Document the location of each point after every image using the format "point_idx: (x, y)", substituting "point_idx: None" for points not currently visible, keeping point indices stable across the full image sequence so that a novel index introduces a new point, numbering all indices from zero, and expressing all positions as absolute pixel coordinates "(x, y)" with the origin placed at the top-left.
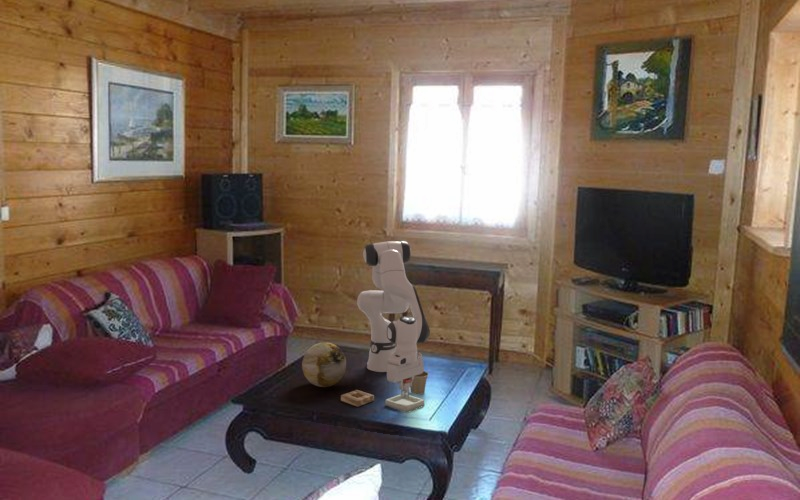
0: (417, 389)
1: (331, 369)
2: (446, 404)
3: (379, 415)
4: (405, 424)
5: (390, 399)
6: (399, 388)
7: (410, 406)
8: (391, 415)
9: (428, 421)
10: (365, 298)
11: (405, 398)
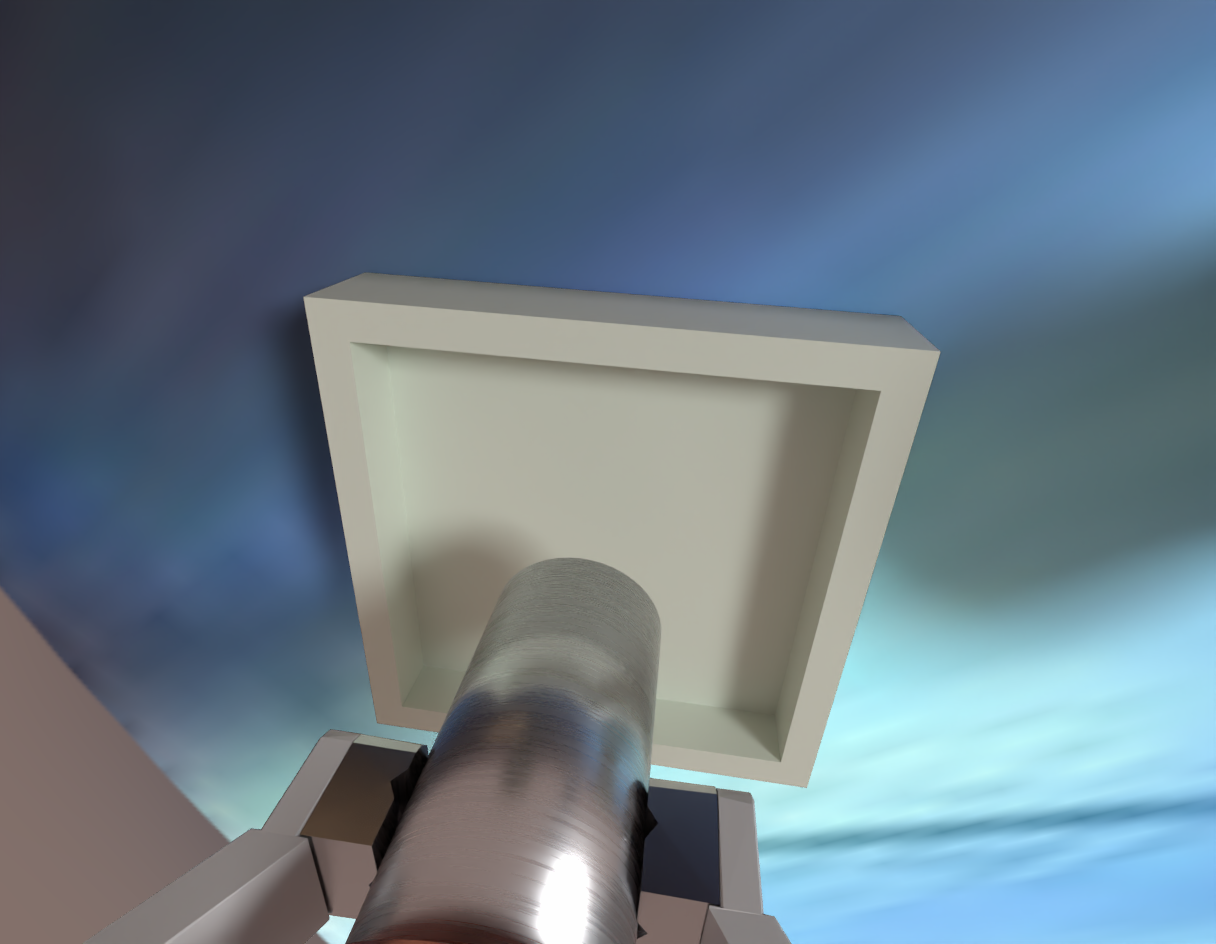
0: None
1: None
2: (1011, 869)
3: (51, 456)
4: (182, 772)
5: (424, 345)
6: (321, 754)
7: None
8: (195, 568)
9: None
10: None
11: (829, 427)
